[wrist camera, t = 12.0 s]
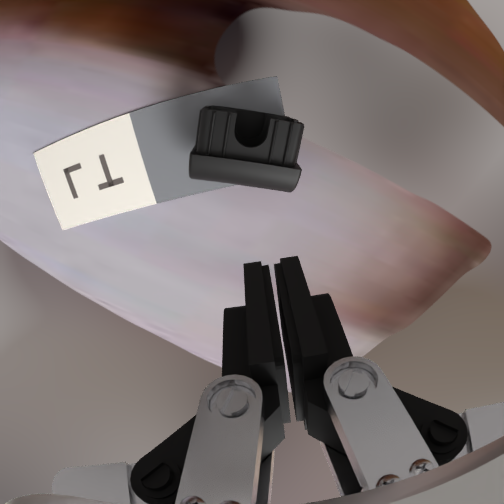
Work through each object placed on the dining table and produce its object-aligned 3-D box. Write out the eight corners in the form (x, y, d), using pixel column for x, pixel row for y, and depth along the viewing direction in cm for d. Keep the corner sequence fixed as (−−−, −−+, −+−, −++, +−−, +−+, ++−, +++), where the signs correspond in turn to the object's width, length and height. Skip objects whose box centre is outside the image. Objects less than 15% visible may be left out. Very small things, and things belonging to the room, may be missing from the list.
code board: (33, 153, 31) (33, 153, 31) (129, 112, 30) (129, 113, 30) (63, 230, 36) (62, 230, 36) (156, 203, 36) (156, 203, 35)
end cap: (194, 167, 34) (185, 187, 28) (202, 104, 30) (194, 108, 24) (284, 180, 35) (295, 201, 29) (297, 118, 31) (311, 127, 26)
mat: (129, 112, 30) (129, 113, 30) (276, 76, 29) (276, 76, 29) (156, 203, 36) (156, 203, 35) (294, 173, 35) (294, 173, 35)
